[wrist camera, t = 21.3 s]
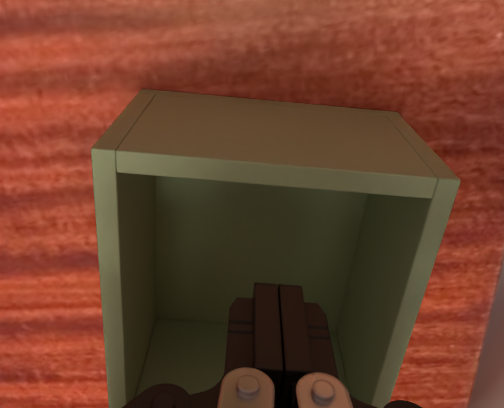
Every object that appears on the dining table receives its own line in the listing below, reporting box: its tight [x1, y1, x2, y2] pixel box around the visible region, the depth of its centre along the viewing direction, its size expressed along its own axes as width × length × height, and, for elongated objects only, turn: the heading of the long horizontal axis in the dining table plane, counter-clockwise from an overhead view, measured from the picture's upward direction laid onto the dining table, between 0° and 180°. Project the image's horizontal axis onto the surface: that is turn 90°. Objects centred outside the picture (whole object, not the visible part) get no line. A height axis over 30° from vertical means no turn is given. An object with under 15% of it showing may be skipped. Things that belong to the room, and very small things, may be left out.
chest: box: [91, 89, 460, 408], centre depth 25 cm, size 16×14×9 cm
